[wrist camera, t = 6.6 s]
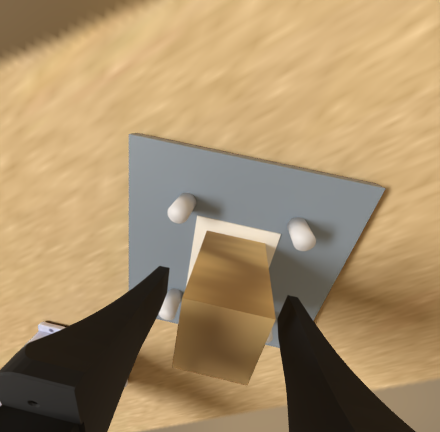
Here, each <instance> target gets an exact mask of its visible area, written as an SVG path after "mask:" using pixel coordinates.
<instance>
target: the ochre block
mask: <svg viewBox="0 0 440 432" xmlns="http://www.w3.org/2000/svg"><path fill="white" fill-rule="evenodd" d="M275 320H276V318H275V311H274V303H273V296H272V289H271V282H270V274H269V267H268V260H267V253H266V246H265V243H261V242H257V241H252V240H248V239H243V238H239V237H234V236H230V235H225V234H221V233H216V232H212V231H206V234H205V237H204V240H203V242H202V245H201V248H200V251H199V253H198V256H197V259H196V262H195V264H194V267H193V270H192V273H191V275H190V278H189V281H188V283H187V286H186V289H185V292H184V294H183V297H182V303H181V310H180V316H179V323H178V330H177V337H176V343H175V350H174V357H173V364H172V367H173V368H177V369H182V370H186V371H190V372H194V373H198V374H202V375H206V376H210V377H214V378H219V379H223V380H227V381H231V382H235V383H239V384H243V385H248V383H249V380H250V378H251V376H252V373H253V371H254V369H255V366H256V364H257V362H258V360H259V357H260V355H261V353H262V350H263V348H264V346H265V343H266V341H267V339H268V336H269V334H270V332H271V329H272V327H273V325H274V323H275Z"/></svg>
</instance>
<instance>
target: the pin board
mask: <svg viewBox="0 0 440 432" xmlns="http://www.w3.org/2000/svg"><path fill="white" fill-rule="evenodd" d="M385 189H386V188H384V187H382V186H380V185H378V184H376V183H371V182H367V181H362V180H357V179H352V178H348V177H343V176H338V175H333V174H329V173H324V172H319V171H314V170H310V169H305V168H300V167H296V166H291V165H286V164H281V163H277V162H272V161H267V160H262V159H258V158H253V157H248V156H244V155H239V154H234V153H229V152H225V151H220V150H215V149H210V148H206V147H201V146H196V145H191V144H187V143H182V142H177V141H173V140H168V139H163V138H158V137H154V136H149V135H144V134H139V133H133V134H129V291H130V290H131V289H132V288H134V287H135V286H136V285H137V284H139V283H140V282H141V281H142V280H144V279H145V278H146V277H147V276H148V275H149V274H151V273H152V272H153V271H154V270H155V269H156V268H157V267H159V266H163V267H168V268H170V270H169V280H168V289H167V295H166V297H165V300H164V302H163V305H162V307H161V310H160V312H159V314H158V316H157V318H156V319H160V320H164V321H168V322H172V323H177V324H178V323H179V316H180V310H181V303H182V297H183V294H184V292H185V289H186V286H187V283H188V281H189V278H190V275H191V273H192V270H193V267H194V264H195V262H196V259H197V256H198V253H199V251H200V248H201V245H202V242H203V240H204V237H205V234H206V231H212V232H216V233H221V234H225V235H230V236H234V237H239V238H243V239H248V240H252V241H257V242H261V243H265V246H266V253H267V260H268V267H269V274H270V282H271V289H272V296H273V303H274V311H275V318H276V320H275V323H274V325H273V327H272V329H271V332H270V334H269V336H268V339H267V341H266V343H265V345H269V346H274V347H278V348H280V345H279V339H278V323H277V318H278V316H279V314H280V311H281V309H282V307H283V305H284V302H285V300H286V298H287V295H290V296H294V297H298V298H299V300H300V301H301V303H302V304H303V306H304V307H305V309H306V311H307V312H308V314H309V315H310V317H311V318H312V320H313V321H314V319H315V317H316V315H317V313H318V311H319V310H320V308H321V306H322V304H323V302H324V300H325V299H326V297H327V295H328V293H329V291H330V289H331V288H332V286H333V284H334V282H335V280H336V278H337V277H338V275H339V273H340V271H341V269H342V267H343V266H344V264H345V262H346V260H347V258H348V256H349V255H350V253H351V251H352V249H353V247H354V245H355V244H356V242H357V240H358V238H359V236H360V234H361V233H362V231H363V229H364V227H365V225H366V223H367V222H368V220H369V218H370V216H371V214H372V212H373V211H374V209H375V207H376V205H377V203H378V201H379V200H380V198H381V196H382V194H383V192H384V190H385Z"/></svg>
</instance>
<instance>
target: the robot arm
mask: <svg viewBox="0 0 440 432" xmlns="http://www.w3.org/2000/svg"><path fill="white" fill-rule="evenodd" d="M169 270H170V268H168V267H163V266H159V267H157V268H156V269H155V270H154V271H153V272H152V273H151V274H149V275H148V276H147V277H146V278H145V279H144V280H142V281H141V282H140V283H139V284H137V285H136V286H135V287H134V288H132V289H131V290H130V291H128V292H127V293H125V294H124V295H123V296H121V297H120V298H118V299H117V300H115V301H114V302H112V303H111V304H109V305H108V306H106V307H104V308H103V309H101V310H99V311H98V312H96V313H94V314H92V315H90V316H89V317H87V318H85V319H83V320H81V321H79V322H77V323H74V324H72V325H70V326H68V327H63V326H59V325H55V324H51V323H47V322H41V323H40V324H39V325H38V329H39V331H38V332H37V333H36V334H35V335H34V336H33V337H32V338H31V339H30V340H29V341H28V342H27V343H26V344H25V345H24V347H23V348H22V349H21V350H20V351H18V352H17V353H16V354H15V355H14V356H13V357H12V358H11V359H10V360H9V362H8V363H7V364H6V365H5V366H4V367H3V368H2V369H1V370H0V432H107V431H108V428H109V426H110V423H111V420H112V418H113V415H114V412H115V410H116V407H117V405H118V402H119V400H120V397H121V394H122V392H123V389H124V387H126V386H127V384H128V377H129V375H130V372H131V370H132V367H133V365H134V362H135V360H136V358H137V355H138V353H139V351H140V349H141V346H142V344H143V342H144V341H145V339H146V337H147V335H148V333H149V331H150V329H151V327H152V325H153V323H154V321H155V319H156V318H157V316H158V314H159V312H160V310H161V307H162V305H163V302H164V300H165V297H166V295H167V289H168V280H169ZM277 323H278V339H279V345H280V352H281V358H282V364H283V370H284V376H285V383H286V392H287V405H288V420H289V432H415V431H414V430H413V429H412V428H410V427H409V426H408V425H407V424H406V423H404V421H403V420H401V419H400V418H399V417H398V416H397V415H396V414H395V413H394V412H392V411H391V410H390V409H389V408H388V407H387V406H386V405H385V404H384V403H383V402H382V401H381V400H380V399H379V398H378V397H377V396H376V395H375V394H374V393H373V392H372V391H371V390H370V389H369V388H368V387H367V386H366V385H365V384H364V383H363V382H362V381H361V380H360V379H359V378H358V377H357V376H356V375H355V374H354V372H353V371H352V370H351V369H350V368H349V367H348V366H347V365H346V363H345V362H344V361H343V360H342V359H341V358H340V356H339V355H338V354H337V353H336V351H335V350H334V349H333V348H332V346H331V345H330V344H329V342H328V341H327V340H326V338H325V337H324V336H323V334H322V333H321V331H320V330H319V329H318V327H317V326H316V324H315V323H314V321H313V320H312V318H311V317H310V315H309V314H308V312H307V311H306V309H305V307H304V306H303V304H302V303H301V301H300V300H299V298H298V297H294V296H290V295H287V298H286V300H285V302H284V305H283V307H282V309H281V311H280V314H279V316H278V318H277Z"/></svg>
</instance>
